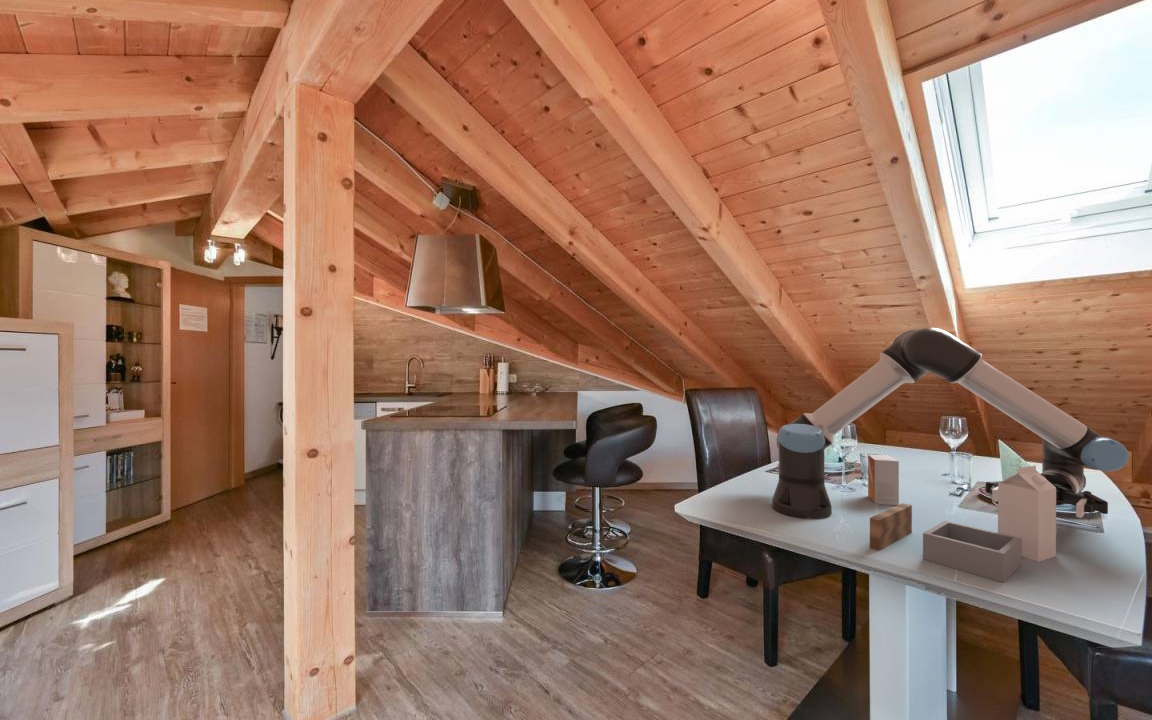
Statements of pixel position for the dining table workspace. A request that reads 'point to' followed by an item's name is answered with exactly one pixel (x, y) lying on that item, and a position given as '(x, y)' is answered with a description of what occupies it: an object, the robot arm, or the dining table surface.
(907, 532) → the walnut wall
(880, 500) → the small box
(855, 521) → the dining table surface
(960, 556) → the tray
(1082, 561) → the dining table surface
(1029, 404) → the robot arm
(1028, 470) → the milk carton
